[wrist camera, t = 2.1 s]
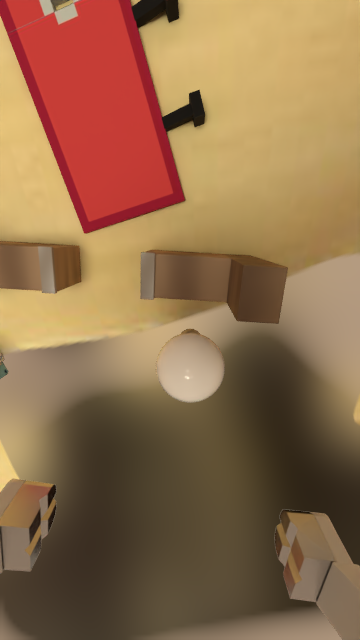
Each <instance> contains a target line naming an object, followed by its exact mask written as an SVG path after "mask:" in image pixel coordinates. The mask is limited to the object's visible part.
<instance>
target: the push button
mask: <svg viewBox="0 0 360 640" xmlns="http://www.w3.org/2000/svg"><path fill="white" fill-rule="evenodd" d="M0 356H1V359H0V379H1V378H2V377H4V376H5V375H7V374H8V370H7V369H6V367H5V365H4V364H3V362H2V361H3V360H4V357H3V355H2V353H0Z"/></svg>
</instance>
